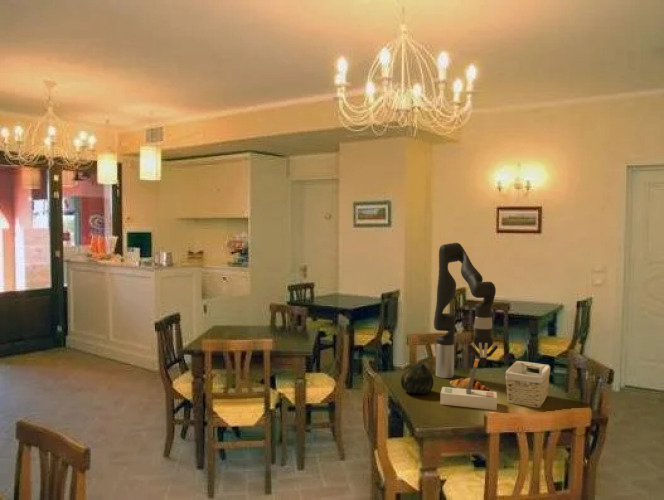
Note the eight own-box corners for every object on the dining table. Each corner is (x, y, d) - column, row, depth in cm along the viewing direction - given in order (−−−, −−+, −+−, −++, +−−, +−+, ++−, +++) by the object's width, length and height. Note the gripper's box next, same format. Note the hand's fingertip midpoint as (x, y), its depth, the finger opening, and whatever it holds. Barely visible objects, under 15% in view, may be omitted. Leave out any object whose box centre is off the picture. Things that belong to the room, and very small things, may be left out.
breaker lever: (467, 389, 245) (475, 358, 244) (470, 390, 245) (478, 359, 243) (467, 390, 243) (475, 359, 241) (470, 391, 242) (478, 360, 241)
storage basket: (541, 410, 237) (542, 376, 236) (503, 403, 245) (504, 371, 245) (550, 395, 258) (551, 364, 257) (515, 389, 266) (516, 360, 265)
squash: (395, 376, 267) (404, 358, 257) (423, 375, 271) (433, 358, 261) (402, 402, 257) (411, 384, 247) (431, 401, 261) (442, 384, 251)
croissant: (446, 394, 269) (443, 381, 266) (456, 380, 275) (452, 368, 272) (487, 403, 255) (483, 389, 252) (495, 388, 261) (492, 375, 258)
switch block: (443, 391, 262) (444, 376, 261) (496, 396, 255) (496, 381, 254) (440, 404, 243) (440, 388, 242) (496, 410, 236) (496, 394, 236)
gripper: (498, 326, 243) (498, 364, 244) (468, 324, 247) (468, 362, 247) (499, 328, 236) (499, 368, 236) (467, 327, 239) (467, 366, 240)
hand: (483, 365), depth 242 cm, fingers closed
